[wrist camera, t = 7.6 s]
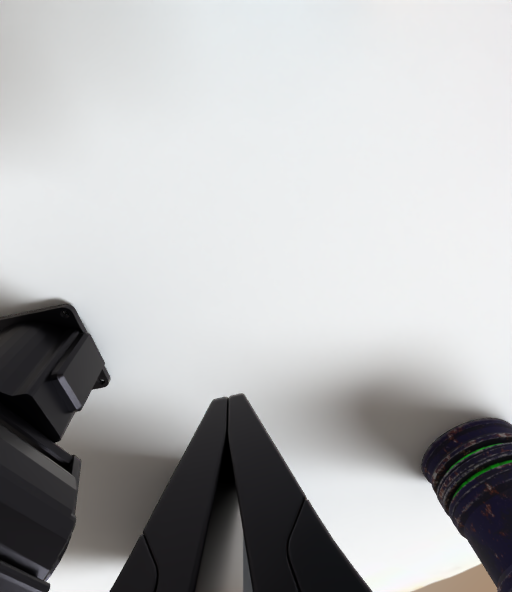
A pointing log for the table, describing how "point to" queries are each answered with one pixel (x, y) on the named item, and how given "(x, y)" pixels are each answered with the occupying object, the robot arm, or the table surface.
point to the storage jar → (477, 490)
